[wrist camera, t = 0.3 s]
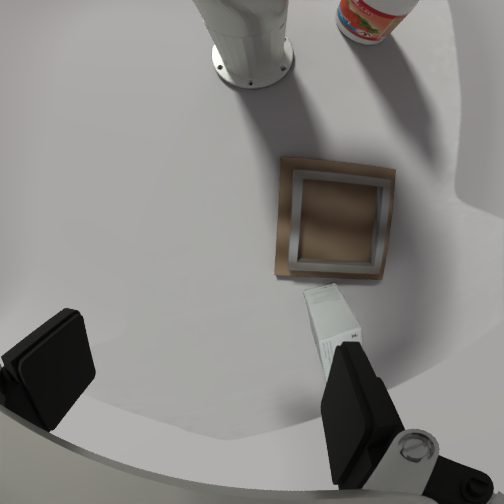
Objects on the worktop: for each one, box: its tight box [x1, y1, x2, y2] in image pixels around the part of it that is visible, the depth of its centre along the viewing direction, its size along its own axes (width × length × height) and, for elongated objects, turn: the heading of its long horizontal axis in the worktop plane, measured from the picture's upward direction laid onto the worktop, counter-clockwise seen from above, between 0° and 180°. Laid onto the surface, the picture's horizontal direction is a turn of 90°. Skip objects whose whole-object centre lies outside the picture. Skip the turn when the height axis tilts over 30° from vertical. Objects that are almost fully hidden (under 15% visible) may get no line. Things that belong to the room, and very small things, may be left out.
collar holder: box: [275, 157, 396, 280], centre depth 42 cm, size 18×18×4 cm
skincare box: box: [303, 283, 365, 383], centre depth 40 cm, size 8×6×15 cm
